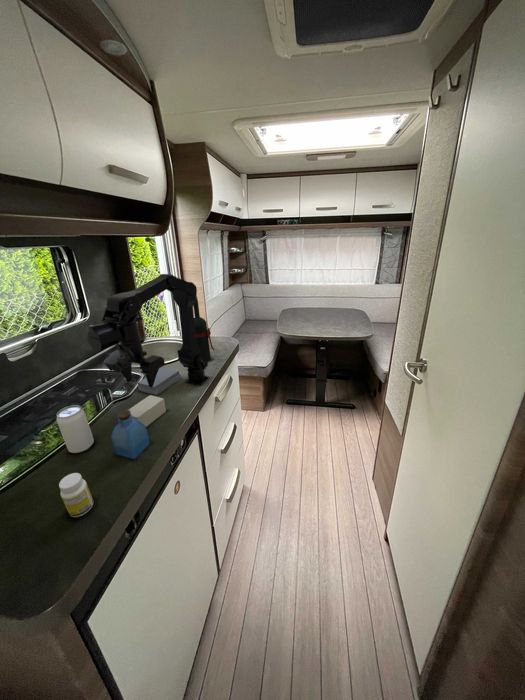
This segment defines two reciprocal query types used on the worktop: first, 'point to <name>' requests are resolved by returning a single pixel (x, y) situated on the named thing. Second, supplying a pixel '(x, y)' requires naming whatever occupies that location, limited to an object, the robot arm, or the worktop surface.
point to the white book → (146, 407)
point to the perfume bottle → (129, 436)
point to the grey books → (160, 381)
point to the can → (75, 429)
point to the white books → (154, 415)
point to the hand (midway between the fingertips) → (140, 384)
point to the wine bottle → (202, 333)
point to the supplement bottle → (75, 495)
